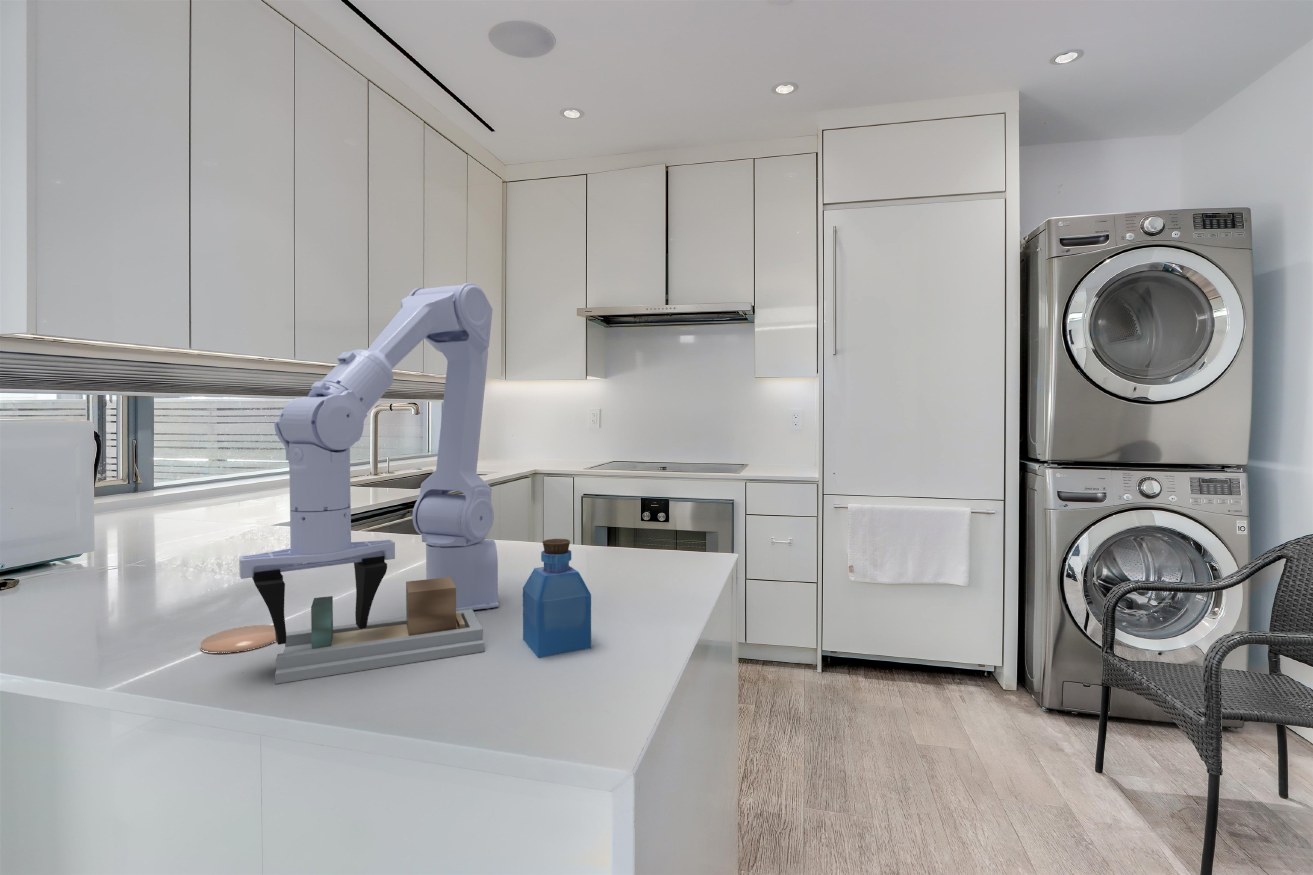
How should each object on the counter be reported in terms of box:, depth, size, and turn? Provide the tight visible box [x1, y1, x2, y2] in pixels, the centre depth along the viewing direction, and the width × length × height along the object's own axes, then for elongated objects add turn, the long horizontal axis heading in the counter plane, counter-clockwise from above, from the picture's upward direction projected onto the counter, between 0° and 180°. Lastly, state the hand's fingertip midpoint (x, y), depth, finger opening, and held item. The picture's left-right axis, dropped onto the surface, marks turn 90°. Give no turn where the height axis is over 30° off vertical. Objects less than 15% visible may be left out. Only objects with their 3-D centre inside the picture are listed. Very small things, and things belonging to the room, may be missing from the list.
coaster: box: [200, 624, 276, 653], centre depth 71 cm, size 8×8×1 cm
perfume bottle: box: [522, 538, 592, 659], centre depth 70 cm, size 6×6×12 cm
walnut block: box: [405, 577, 456, 636], centre depth 70 cm, size 5×5×5 cm
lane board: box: [274, 609, 485, 685], centre depth 68 cm, size 20×10×2 cm, turn 115°
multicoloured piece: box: [310, 595, 465, 649], centre depth 68 cm, size 15×5×5 cm, turn 115°
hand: (322, 633), depth 65 cm, fingers open, 7 cm apart
